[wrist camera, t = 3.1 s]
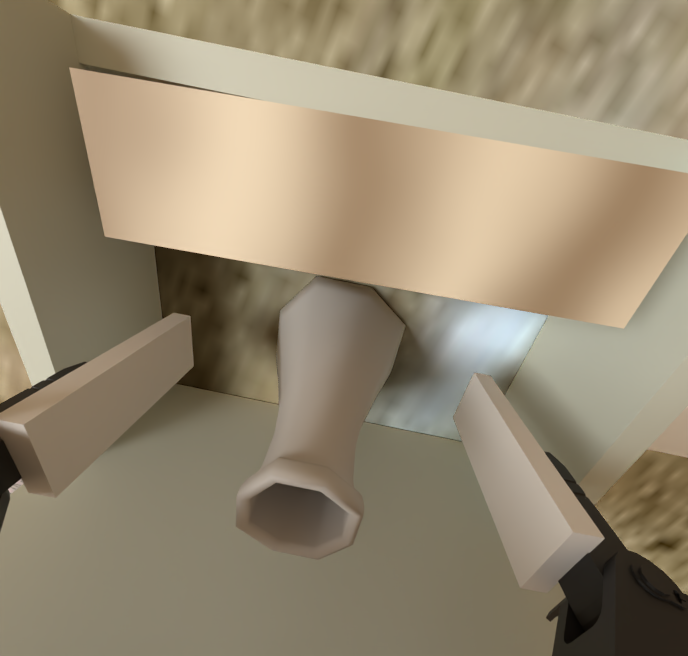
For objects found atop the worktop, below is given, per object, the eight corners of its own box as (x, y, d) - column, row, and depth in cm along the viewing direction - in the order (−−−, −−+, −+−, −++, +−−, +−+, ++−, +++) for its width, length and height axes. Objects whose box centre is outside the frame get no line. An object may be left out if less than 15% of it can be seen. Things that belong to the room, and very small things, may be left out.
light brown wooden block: (562, 189, 12) (722, 179, 7) (522, 278, 14) (623, 328, 8) (183, 124, 12) (33, 60, 7) (191, 219, 14) (76, 231, 8)
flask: (309, 250, 14) (194, 342, 5) (428, 318, 15) (522, 502, 6) (258, 356, 17) (127, 538, 8) (360, 406, 18) (351, 622, 9)
